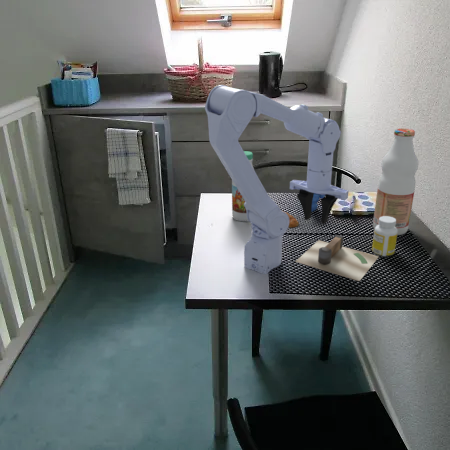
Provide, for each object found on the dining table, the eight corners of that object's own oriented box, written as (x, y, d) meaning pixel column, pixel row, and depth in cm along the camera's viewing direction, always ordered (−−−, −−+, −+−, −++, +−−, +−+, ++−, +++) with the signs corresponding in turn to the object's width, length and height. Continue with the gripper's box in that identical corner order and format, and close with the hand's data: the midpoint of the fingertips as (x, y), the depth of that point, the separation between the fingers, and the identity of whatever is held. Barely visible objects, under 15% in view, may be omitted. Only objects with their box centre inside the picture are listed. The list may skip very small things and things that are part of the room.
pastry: (303, 226, 128) (304, 214, 126) (289, 234, 123) (290, 222, 122) (277, 217, 134) (278, 206, 132) (263, 224, 129) (263, 213, 128)
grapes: (326, 219, 131) (330, 181, 126) (303, 218, 132) (306, 180, 127) (324, 204, 141) (327, 168, 136) (303, 203, 142) (305, 168, 137)
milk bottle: (229, 213, 136) (227, 150, 128) (252, 210, 138) (252, 148, 130) (237, 223, 130) (236, 157, 121) (261, 219, 132) (262, 155, 123)
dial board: (359, 284, 99) (359, 280, 98) (295, 265, 107) (295, 261, 107) (378, 259, 109) (379, 256, 108) (318, 243, 117) (318, 239, 117)
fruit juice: (365, 226, 126) (377, 129, 114) (388, 219, 130) (402, 124, 118) (391, 239, 118) (407, 136, 107) (415, 231, 123) (433, 131, 111)
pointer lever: (327, 265, 104) (328, 252, 103) (315, 262, 106) (316, 249, 104) (344, 247, 112) (345, 235, 111) (333, 244, 114) (334, 232, 112)
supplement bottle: (393, 250, 113) (398, 215, 109) (394, 260, 108) (400, 224, 104) (371, 248, 114) (375, 213, 110) (371, 258, 110) (376, 222, 105)
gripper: (355, 169, 104) (349, 221, 110) (299, 159, 112) (297, 209, 117) (343, 177, 99) (338, 231, 104) (286, 167, 106) (284, 218, 112)
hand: (315, 220), depth 111 cm, fingers open, 4 cm apart
